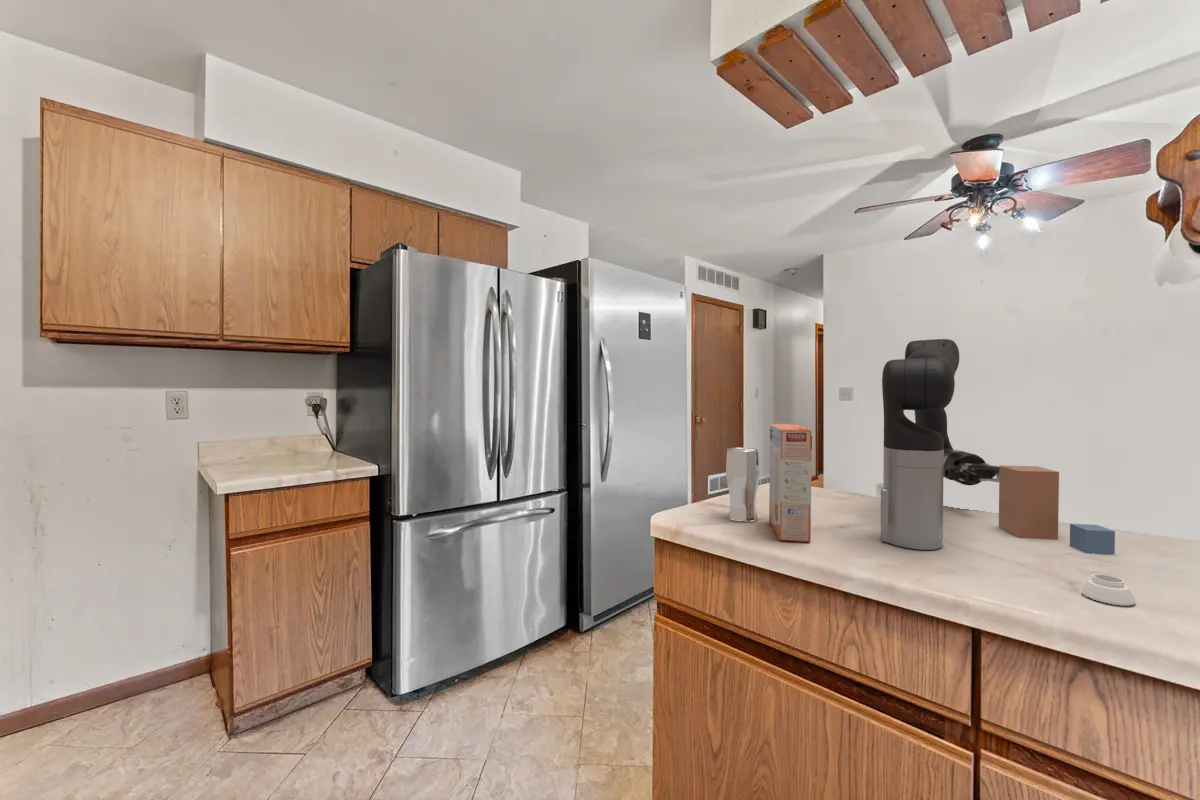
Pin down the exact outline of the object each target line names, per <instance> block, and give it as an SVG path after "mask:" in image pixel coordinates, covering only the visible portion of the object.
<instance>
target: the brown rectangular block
mask: <svg viewBox="0 0 1200 800" xmlns="http://www.w3.org/2000/svg"><path fill="white" fill-rule="evenodd" d="M998 466H999V482H998V485H999V486H998V488H999V489H998V529H1000V530H1003V531H1005V532H1006V533H1008V534H1010V535H1012V536H1015V537H1016V538H1026V539H1027V538H1029V539H1049V540H1058V539H1059V504H1060V503H1059V502H1060V501H1059V497H1060V492H1059V491H1060V471H1056V470H1054V469H1049V468H1045V467H1042V466H1037V465H1036V466H1035V465H998Z"/></svg>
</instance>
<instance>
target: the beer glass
mask: <svg viewBox="0 0 1200 800" xmlns="http://www.w3.org/2000/svg"><path fill="white" fill-rule="evenodd" d="M759 453H760V452H759V449H757V448H750V447H730V448H729V447H728V448H727V449H726V463H725V464H726V465H725V471H726V473H725V475H726V483H727V488H728V493H729V502H730V503H729V508H728V509H729V510H728V516H727V517H729V518H731V519H734V520H742V521H751V520H755V519H757V518H759V517H758V512H757V507H756V501H757V494H758V489H759V482H760V471H761V470H760V468H761V467H760V466H761V465H760V464H761V463H760V455H759ZM729 518H728V519H729ZM757 520H758V519H757Z"/></svg>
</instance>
